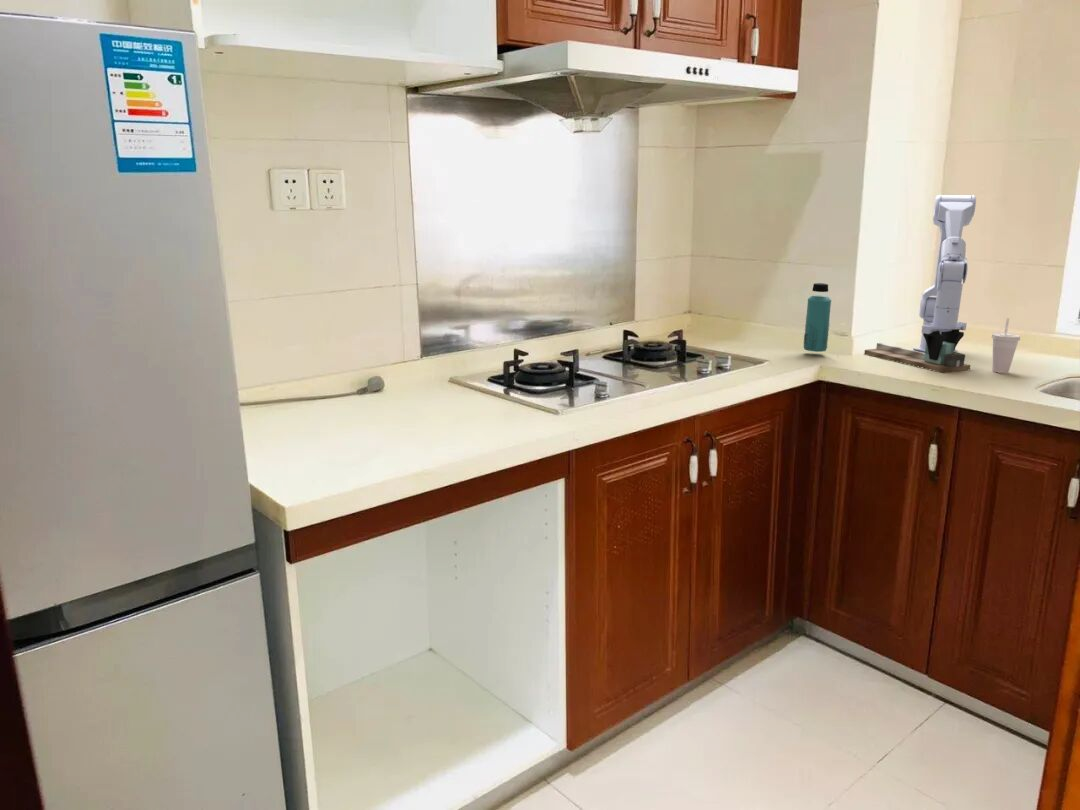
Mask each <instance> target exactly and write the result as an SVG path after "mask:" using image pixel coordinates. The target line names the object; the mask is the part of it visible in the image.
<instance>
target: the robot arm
mask: <svg viewBox="0 0 1080 810" xmlns="http://www.w3.org/2000/svg"><path fill="white" fill-rule="evenodd" d="M976 204H977V197H976V196H975V195H974V194H971V195H959V194H958V195H957V194H956V195H955V194H954V195H952V194H950V195H949V194H948V195H947V194H944V195H942V194H938V195H936V196H935V199H934V206H933V217H932V222H933V225H935V226H937V227H939V230H940V231H939V232H940V237H939V246H938V250H937V251H938V254H937V261H936V268H935V277H934V282H933V285H931V286H930V287H928V288H926V289H925V290H924V291H923V292H922V293H921V294H922V296H921V299H920V303H919V314H918V315H919V318H920V319H923V322H922V326H921V331H920V332H921V335H920V336H921V338H920V345H919V346H916V347H912V350H914V351H919V352H923V353H925V349H926V343H927V347H928V353H929V359H932V360H938V357H939V354H940V349H941V346H942V343H943V341H945V342H950V343H955V345H954V352H953V353H956V352H957V353H958V349H956V347H957V345H958V344H959V342H960V340H961V339H962V338H963V337H964V335H965V333H964V331H967V322H963V321H959V312H960V308H961V307H960V306H961V301H962V300H961V299H962V292H963V286H964V285H963V284H965V282H966V280H967V275H968V260H967V259H968V258H967V257H966V249H967V248H966V247H967V244H966V240H964V239H963V238H962V234H963V230H964V229H963V228H964V227H966V226H969V225H970V223H971V222H972V220H973V217H974V215H975V212H976V206H977V205H976Z"/></svg>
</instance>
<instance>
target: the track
mask: <svg viewBox="0 0 1080 810" xmlns="http://www.w3.org/2000/svg"><path fill="white" fill-rule="evenodd" d="M863 354H864V355H867V356H870V357H875V358H879V357H880V359H883V358H884V359H883V360H887V359H889V360H888V361H891V360H894V361H893V362H896V361H898V362H897V363H900V362H902V363H901V364H904V363H906V364H905V365H908V364H910V366H912V365H914V367H917V366H919V367H918V368H921V367H923V368H922V369H925V368H927V369H926V370H929V369H931V370H930V371H933V370H935V371H934V372H937V371H939V372H938V373H942V372H943V374H945V372H948V373H953V372H952V371H955V372H962V371H961V370H963V371H969V370H968V369H970V370H971V366H972V365H971V364H967V363H965V359H966V354H965V353H960V352H957V353H956V352H953V354H946V355H945V357H944V364H936V363H932V362H927V361H924V356H925V352H923V351H919V350H914V349H909V348H905V347H904V348H903V347H900V346H896V345H892V344H891V345H890V344H886V343H883V342H882V343H881V342H877V343H876V348H870V349H865V350H864V352H863Z"/></svg>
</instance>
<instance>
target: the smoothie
mask: <svg viewBox="0 0 1080 810" xmlns="http://www.w3.org/2000/svg"><path fill="white" fill-rule="evenodd" d="M1009 323H1010V318H1009V317H1007V318H1006V321H1005V327H1004V332H994V333H992V336H991V338H992V363H991V364H992V366H991V367H992V368H991V369H992V370H991V371H992V372H993V371H994V372H993V373H996V372H998V373H997V374H1009V373H1008V372H1010V369H1011V365H1012V362H1013V360H1014V357H1015V353H1016V349H1017V347H1018V343H1019V342H1020V340H1021V335H1019V334H1014V333H1008V330H1009V329H1008V328H1009Z"/></svg>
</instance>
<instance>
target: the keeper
mask: <svg viewBox="0 0 1080 810" xmlns="http://www.w3.org/2000/svg"><path fill="white" fill-rule="evenodd" d="M954 345H955V343H950V342H945V341H943V343H942V346H941V349H940V354H939V357H938V360H932V359H929V353H928V347H927V343H926V349H925V352H924V353H925V356H924V361H927V362H932V363H936V364H944V357H945V355H946V354H954V353H955V352H954Z"/></svg>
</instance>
